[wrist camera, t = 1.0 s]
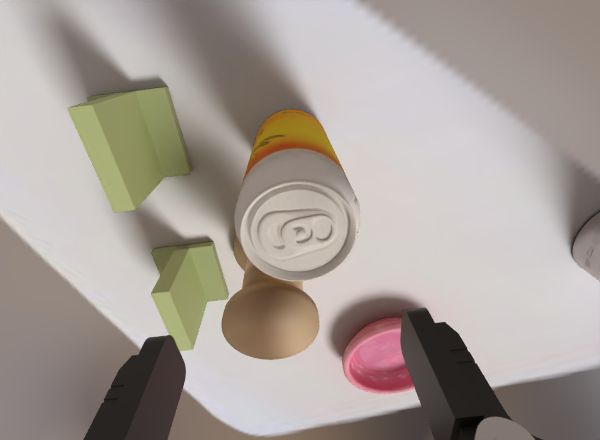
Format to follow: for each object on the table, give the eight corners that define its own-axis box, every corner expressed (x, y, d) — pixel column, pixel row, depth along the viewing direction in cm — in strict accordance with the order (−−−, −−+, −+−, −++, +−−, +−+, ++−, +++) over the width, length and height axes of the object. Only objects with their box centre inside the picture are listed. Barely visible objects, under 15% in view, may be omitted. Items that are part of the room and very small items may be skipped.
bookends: (167, 86, 25) (129, 100, 19) (228, 294, 35) (217, 346, 29) (92, 95, 25) (29, 112, 19) (175, 300, 35) (152, 354, 29)
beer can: (247, 115, 26) (212, 187, 13) (320, 100, 26) (359, 158, 13) (265, 183, 29) (250, 297, 16) (331, 170, 29) (370, 276, 16)
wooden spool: (309, 204, 30) (321, 277, 21) (316, 271, 34) (329, 357, 25) (226, 214, 30) (201, 291, 21) (243, 279, 34) (228, 369, 25)
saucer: (412, 378, 44) (421, 400, 42) (327, 368, 42) (330, 390, 40) (453, 314, 39) (466, 335, 36) (357, 299, 37) (363, 320, 34)
